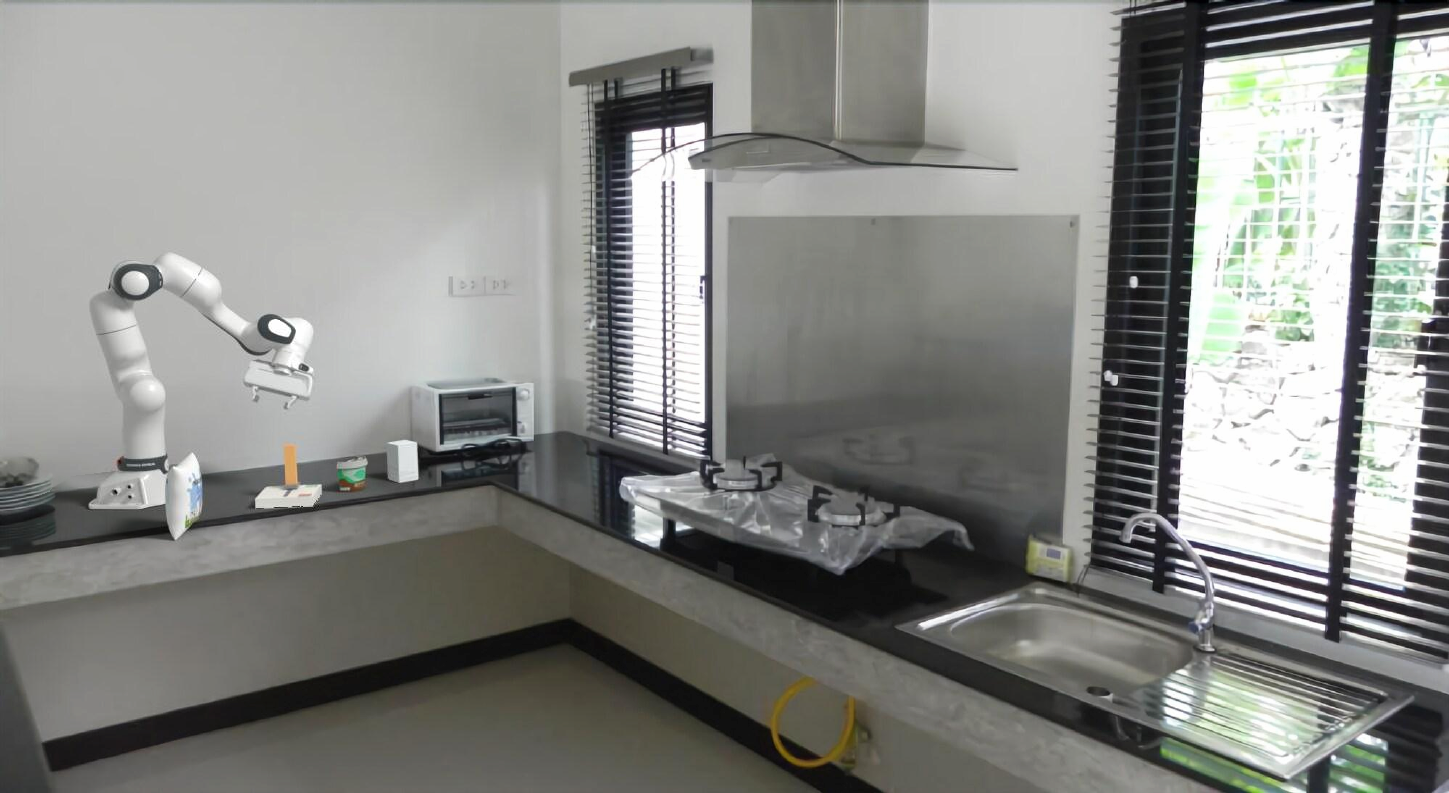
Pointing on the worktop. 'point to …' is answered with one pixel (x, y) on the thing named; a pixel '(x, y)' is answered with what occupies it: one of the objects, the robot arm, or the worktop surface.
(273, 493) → the white flat block
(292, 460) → the handle
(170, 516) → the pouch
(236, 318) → the robot arm
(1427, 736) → the worktop surface
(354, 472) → the food container
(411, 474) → the supplement box
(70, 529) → the worktop surface
